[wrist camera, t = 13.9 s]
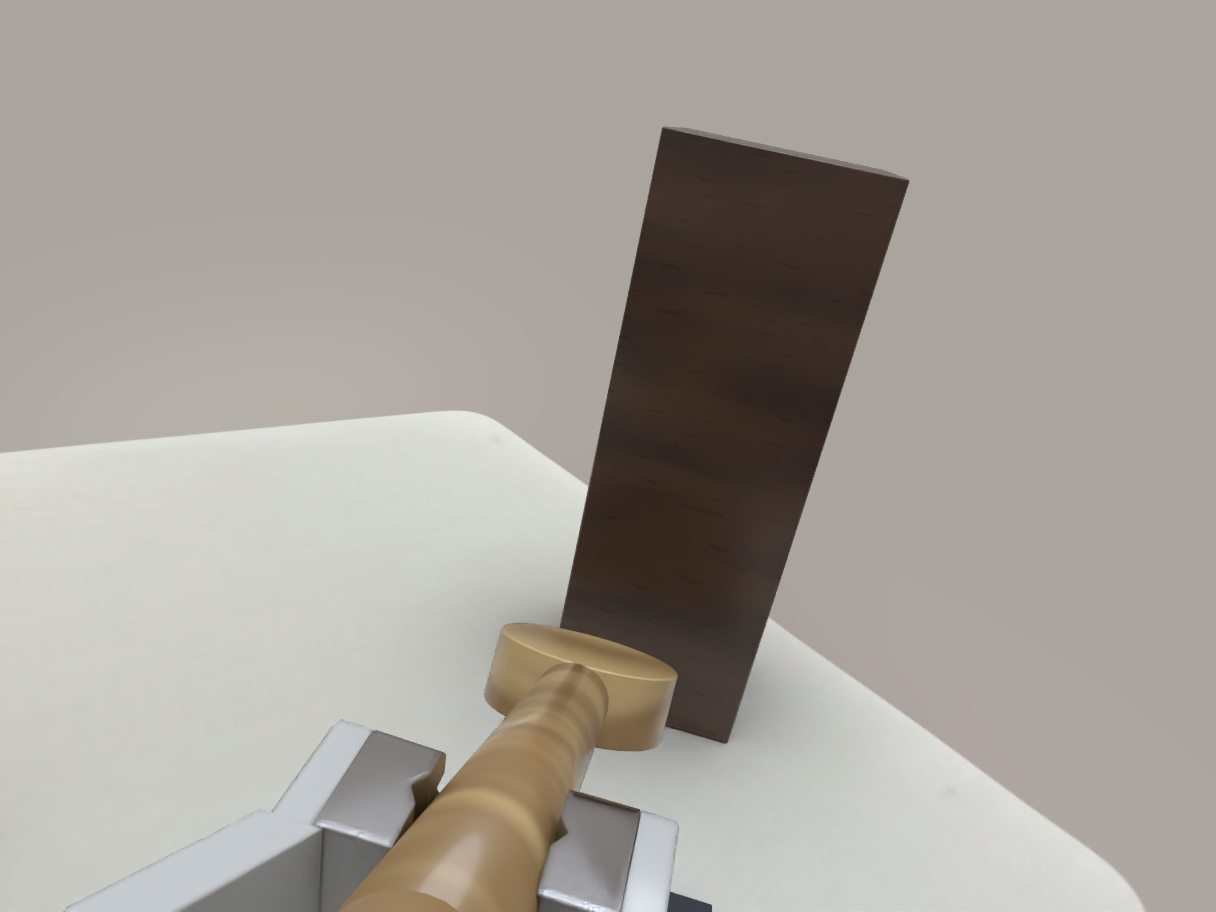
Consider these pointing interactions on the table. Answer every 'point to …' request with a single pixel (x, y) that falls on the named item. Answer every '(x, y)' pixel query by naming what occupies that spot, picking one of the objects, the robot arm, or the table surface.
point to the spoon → (521, 772)
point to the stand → (722, 402)
